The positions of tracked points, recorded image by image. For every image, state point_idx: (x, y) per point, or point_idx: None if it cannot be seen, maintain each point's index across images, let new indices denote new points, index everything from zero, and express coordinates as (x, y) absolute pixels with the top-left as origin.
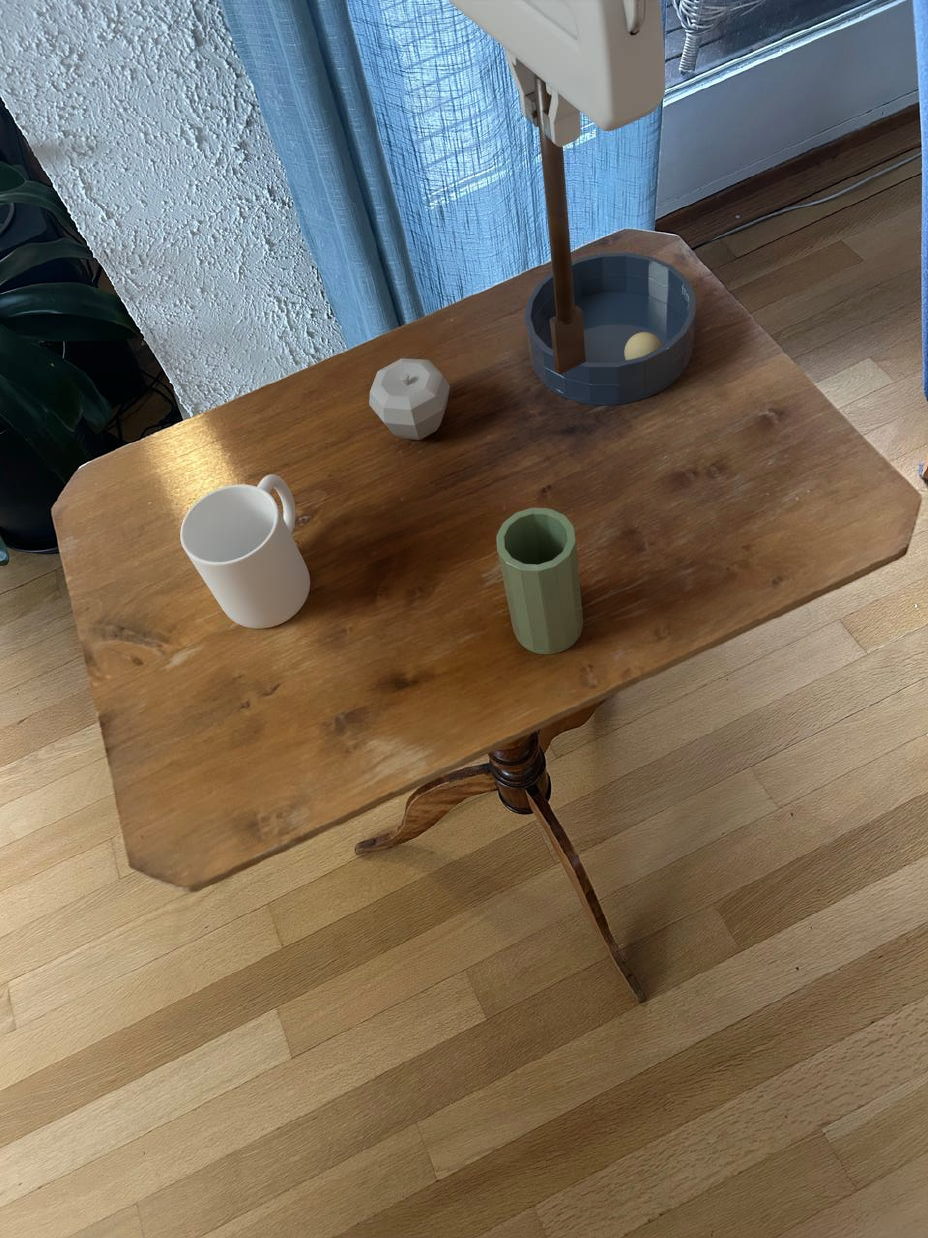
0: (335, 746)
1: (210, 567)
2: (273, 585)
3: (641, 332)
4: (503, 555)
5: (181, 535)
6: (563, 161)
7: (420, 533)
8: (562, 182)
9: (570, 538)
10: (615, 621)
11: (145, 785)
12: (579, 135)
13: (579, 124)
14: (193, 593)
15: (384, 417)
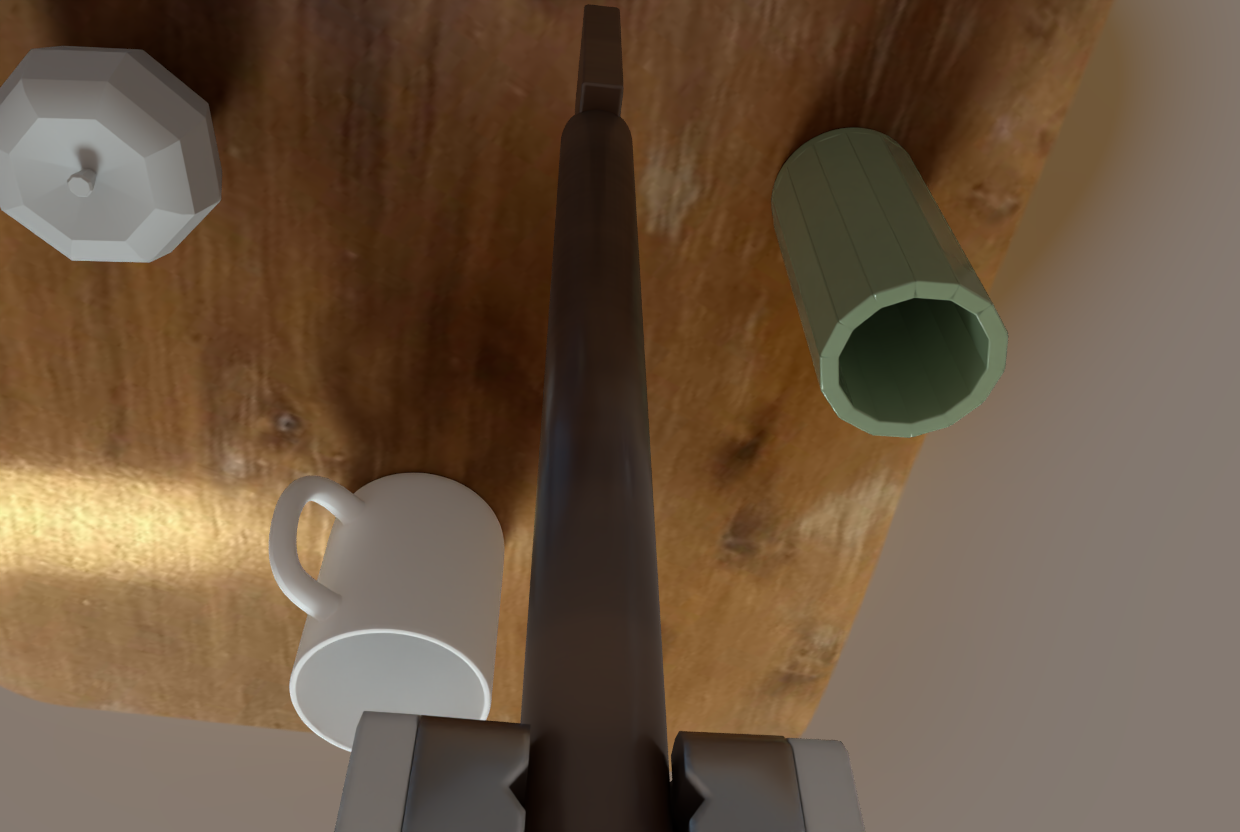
0: (767, 565)
1: None
2: (497, 607)
3: None
4: (893, 434)
5: None
6: (650, 577)
7: (465, 271)
8: (652, 512)
9: (977, 308)
10: (943, 83)
11: None
12: (840, 742)
13: (859, 811)
14: None
15: (164, 254)
